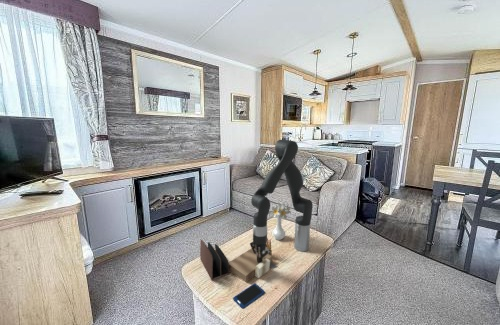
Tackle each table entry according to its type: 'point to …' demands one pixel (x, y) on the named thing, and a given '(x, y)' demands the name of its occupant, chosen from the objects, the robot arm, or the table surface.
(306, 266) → the table surface
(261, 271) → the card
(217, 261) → the letter holder
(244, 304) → the cell phone
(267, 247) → the ammunition clip
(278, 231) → the flower vase
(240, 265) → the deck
